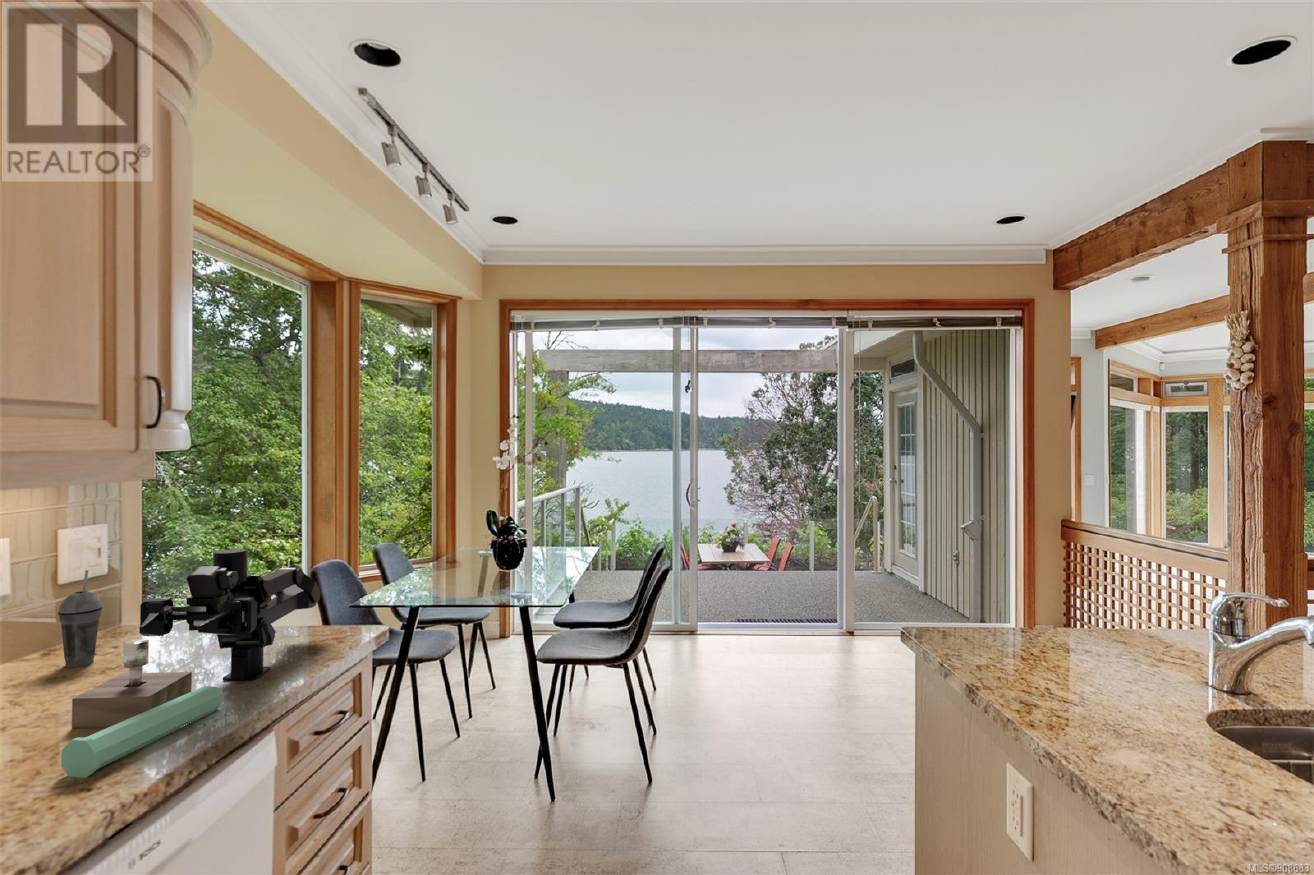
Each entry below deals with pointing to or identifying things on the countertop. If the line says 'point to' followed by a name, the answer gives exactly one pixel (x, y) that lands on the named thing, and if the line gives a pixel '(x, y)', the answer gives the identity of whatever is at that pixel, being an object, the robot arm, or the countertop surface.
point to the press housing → (127, 698)
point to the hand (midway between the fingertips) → (169, 629)
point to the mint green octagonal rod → (137, 732)
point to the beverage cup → (80, 626)
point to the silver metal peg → (135, 659)
